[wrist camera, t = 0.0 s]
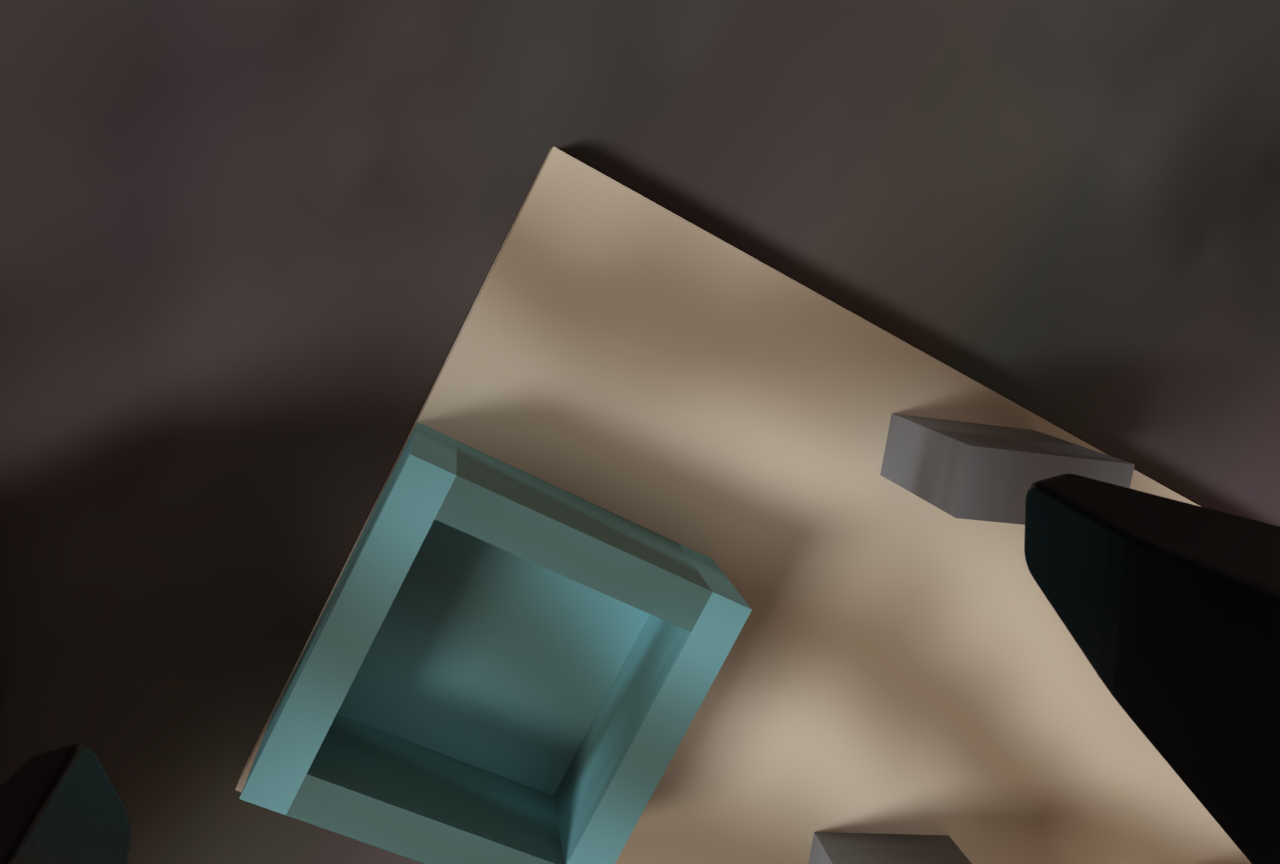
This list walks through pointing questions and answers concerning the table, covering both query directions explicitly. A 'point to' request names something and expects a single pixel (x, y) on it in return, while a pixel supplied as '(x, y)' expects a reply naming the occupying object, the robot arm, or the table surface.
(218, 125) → the table surface
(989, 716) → the board
